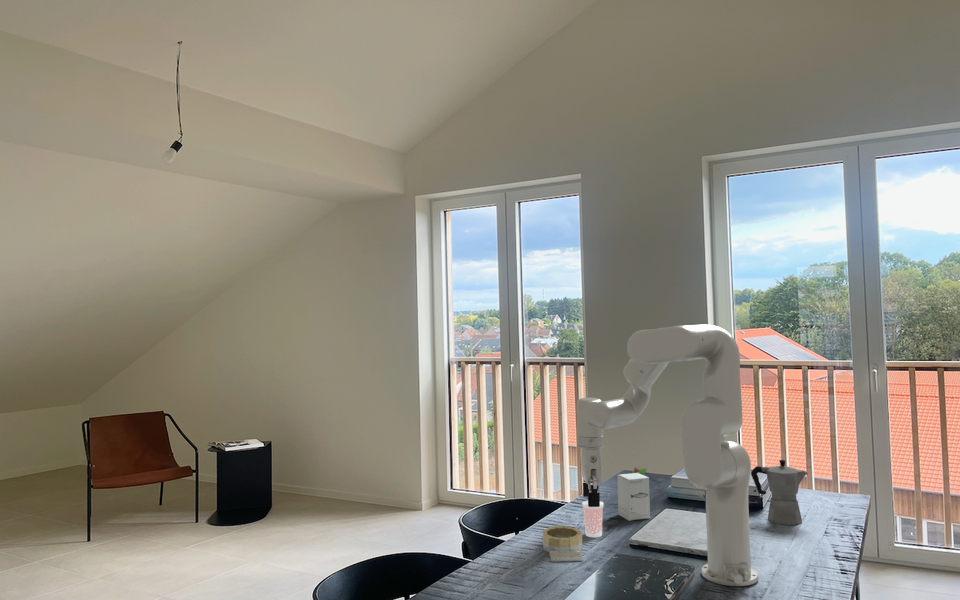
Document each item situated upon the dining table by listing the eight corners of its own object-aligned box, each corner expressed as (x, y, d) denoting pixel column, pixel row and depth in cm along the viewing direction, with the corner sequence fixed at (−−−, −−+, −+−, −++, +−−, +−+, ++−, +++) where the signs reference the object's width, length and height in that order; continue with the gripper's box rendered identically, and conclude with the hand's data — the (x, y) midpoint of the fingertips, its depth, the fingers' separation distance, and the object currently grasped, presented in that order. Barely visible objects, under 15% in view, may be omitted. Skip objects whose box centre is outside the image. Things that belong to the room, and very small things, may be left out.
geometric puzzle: (657, 481, 237) (647, 461, 241) (644, 484, 234) (633, 464, 238) (646, 490, 242) (636, 470, 246) (632, 493, 238) (622, 473, 243)
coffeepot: (808, 518, 198) (806, 457, 198) (810, 527, 189) (808, 464, 190) (753, 513, 204) (750, 455, 204) (752, 522, 195) (750, 461, 196)
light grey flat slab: (587, 560, 168) (587, 552, 168) (546, 561, 168) (546, 553, 168) (579, 540, 183) (579, 533, 184) (541, 541, 184) (541, 534, 184)
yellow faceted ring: (584, 554, 173) (584, 538, 173) (544, 555, 173) (544, 539, 173) (576, 535, 188) (576, 520, 188) (540, 535, 188) (540, 521, 189)
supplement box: (629, 521, 199) (627, 479, 200) (617, 514, 207) (616, 474, 207) (651, 518, 201) (649, 477, 202) (639, 512, 209) (637, 471, 209)
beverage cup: (587, 530, 192) (586, 481, 193) (607, 533, 189) (606, 484, 190) (579, 536, 187) (578, 486, 188) (600, 539, 184) (598, 489, 184)
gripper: (608, 447, 180) (609, 510, 180) (598, 435, 198) (599, 492, 197) (581, 448, 180) (582, 510, 180) (573, 435, 198) (574, 493, 198)
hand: (591, 501), depth 189 cm, fingers open, 9 cm apart
